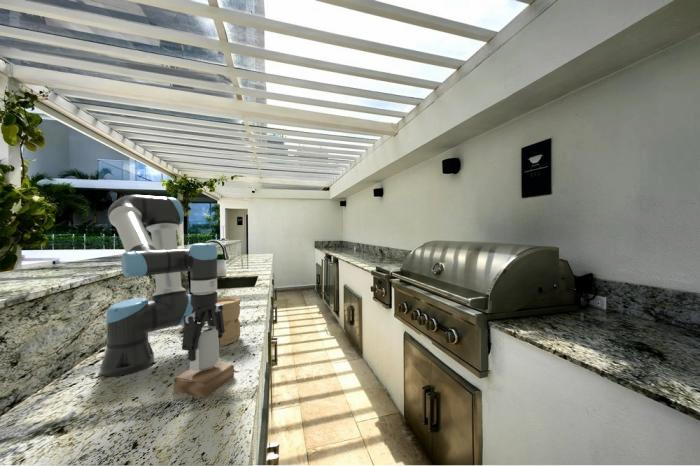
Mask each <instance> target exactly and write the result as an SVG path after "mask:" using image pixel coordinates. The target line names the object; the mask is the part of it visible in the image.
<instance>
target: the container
mask: <svg viewBox="0 0 700 466" xmlns="http://www.w3.org/2000/svg"><path fill="white" fill-rule="evenodd" d="M240 304H241V299H240V297H238V296H223V297H222V296H221V297H218V301H217V303H216V305H223V310H222V314H223V322H224V330H225V332H224V333H223V334H222V335H223V336H222V338H220V345H219V348H220V347H225V346H227V345H229V344H232V343H236V341H237V339H239V338H240V337H241V322H240V319H239V318H240V314H241V305H240ZM220 330H221V329H220Z"/></svg>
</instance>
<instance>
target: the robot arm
mask: <svg viewBox="0 0 700 466" xmlns="http://www.w3.org/2000/svg"><path fill="white" fill-rule="evenodd" d="M184 213H185V212H184V208H183V205H182V203H181V202H180V200H179V199H177V198H175V197H168V196H155V195H144V194H143V195H142V194H128V195H124V196H122V197H120V198H119V199H117V200H114V202H113V203H112V204H110V206H109V207H108V211H107V217H108V221H109V223H110V224H111V225H112V226H113V227H115V228H116V232H117V233H118V236H119V239H120V241H121V243H122V245H123V248H124V251H125V252H123V253H122V255H121V261H120V265H121V272H122V275H123V276H124V277H127V278H131V277H132V278H133V277H141V278H142V277H146V276H148V277H149V276H154V279H155V288H156V290H155V292H154V293H153V294H152V296H151V299H152V300H149V299H148V298H146V297H136V298H130V299H125V300H122V301H119V302H117V303H116V302H115V303H114V304H112V305H111V306H108V308H107V310H106V315H105V316H106V318H105V323H106V350H105V352H104V355H103V358H102V361H101V363H100V367H99V372H100V375H102V376H103V377H118V376H125V375H128V374H133V373H135V372H139V371H141V370H143V369H145V368H147V367H149V366H150V365H152V364H153V362H154V361H155V353H154V350H153V348H152V346H151V344H150V341H149V333H153V332H156V331H161V330H164V329H169V328H173V327H174V328H175V327H178V326H181V325H182V324H184V327H183V334H182V344H181V350H183V351H187V353H188V354H187V356H188V361H189V369H190V370H193V371H198V370H199V349H198V348H197V345H198V341H199V337H200V334H201V330H202V327H203V326H205V325H206V323H207V326H208V325H209V326H215V327H216V328H215V329H216V330H218V359H219V358H220V347H219V345H220V338H222V336H223V335H222V334H223V333H224V332H225V330H224V322H223V314H222V310H223V305H216V303H217V301H218V298H219V297H218V291H217V290H218V249H217V245H216V244H215V243H211V242H210V243H209V242H208V243H206V242H205V243H193V244H191V245H190V247H184V248H178V241H177V240H178V239H177V238H178V237H177V231H178V229H179V228H180V227H181V226H180V225H181V224H182V223H183V222H184V216H185V214H184ZM148 232H150V234H151V237H150V235H149V233H148ZM181 272H182V273H183V272H190V273H189V274H190V275H189V276H190V278H189V279H190V293H191V294H190V293H187V289H186V288H185V287H183V286H182V277H181V276H182V275H181ZM220 329H221V330H220ZM210 330H212V329H210ZM192 345H193V346H192Z"/></svg>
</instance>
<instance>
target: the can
mask: <svg viewBox="0 0 700 466" xmlns="http://www.w3.org/2000/svg"><path fill="white" fill-rule="evenodd" d="M215 328H216V327H215V326H209V325H208V324H207V325H204V326H203V327H202V330H201V334H200V337H199V341H198V345H197V348H198V349H199V370H206V369H209V368H212V367H213V366H214V365H215V364H216V363H217V362H219V358H218V330H216V329H215ZM210 329H212V330H210ZM192 346H193V345H192Z"/></svg>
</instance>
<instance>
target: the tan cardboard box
mask: <svg viewBox="0 0 700 466" xmlns="http://www.w3.org/2000/svg"><path fill="white" fill-rule="evenodd" d="M234 378H235V366H234V364H229V363H225V362H219V361H218V362H217V363H216V364H215V365H214V366H213V367H212V368H209V369H206V370H198V371H193V370H190V368H189V369H187V370H185V371H184V372H183V373H180V374H179V375H177V376H175V377H174V378H173V392H174V393H179V394H184V395H189V396H192V397H193V396H194V397H198V398H204V399H207V398H209V397H210V396H211V395H212V394H213V393H215V392H216V391H217V390H219V389H220V388H221V387H223V386H224V385H225V384H227V383H228V382H229V381H231V379H234Z"/></svg>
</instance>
